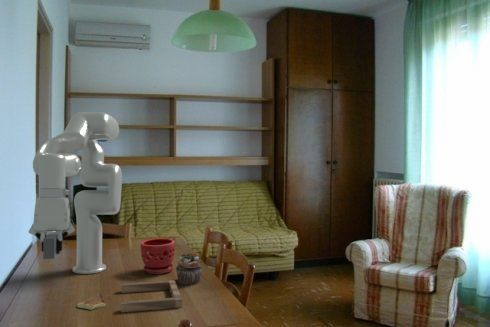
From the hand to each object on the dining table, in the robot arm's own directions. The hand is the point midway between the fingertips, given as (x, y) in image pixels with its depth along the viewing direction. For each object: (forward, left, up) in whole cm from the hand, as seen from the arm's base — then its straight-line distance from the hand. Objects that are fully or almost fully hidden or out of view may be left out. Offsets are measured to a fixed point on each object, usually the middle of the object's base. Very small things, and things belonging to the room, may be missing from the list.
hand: (51, 252), depth 136 cm
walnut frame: (+2, +29, -16) cm, 33 cm away
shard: (+2, +11, -17) cm, 20 cm away
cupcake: (-14, +45, -16) cm, 49 cm away
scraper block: (0, 0, -1) cm, 0 cm away
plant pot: (-30, +35, -16) cm, 48 cm away
